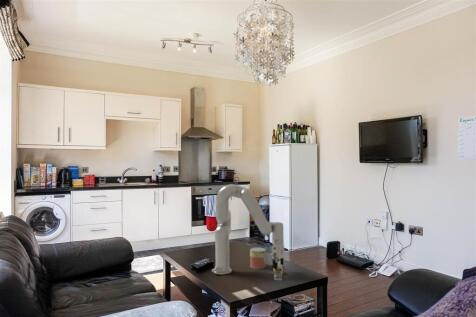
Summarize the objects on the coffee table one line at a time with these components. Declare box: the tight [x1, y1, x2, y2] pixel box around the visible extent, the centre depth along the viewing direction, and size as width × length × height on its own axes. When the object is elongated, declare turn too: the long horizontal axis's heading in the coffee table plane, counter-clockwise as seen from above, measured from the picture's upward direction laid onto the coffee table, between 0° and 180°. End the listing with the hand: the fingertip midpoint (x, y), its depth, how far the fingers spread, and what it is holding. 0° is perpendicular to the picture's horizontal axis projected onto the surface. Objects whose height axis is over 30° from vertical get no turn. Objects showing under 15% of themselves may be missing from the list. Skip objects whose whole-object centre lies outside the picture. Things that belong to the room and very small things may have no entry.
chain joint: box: [272, 265, 284, 281], centre depth 217 cm, size 27×7×2 cm, turn 172°
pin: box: [275, 259, 281, 271], centre depth 217 cm, size 4×4×10 cm
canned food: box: [249, 247, 267, 270], centre depth 232 cm, size 11×11×12 cm
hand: (278, 266), depth 217 cm, fingers open, 9 cm apart
